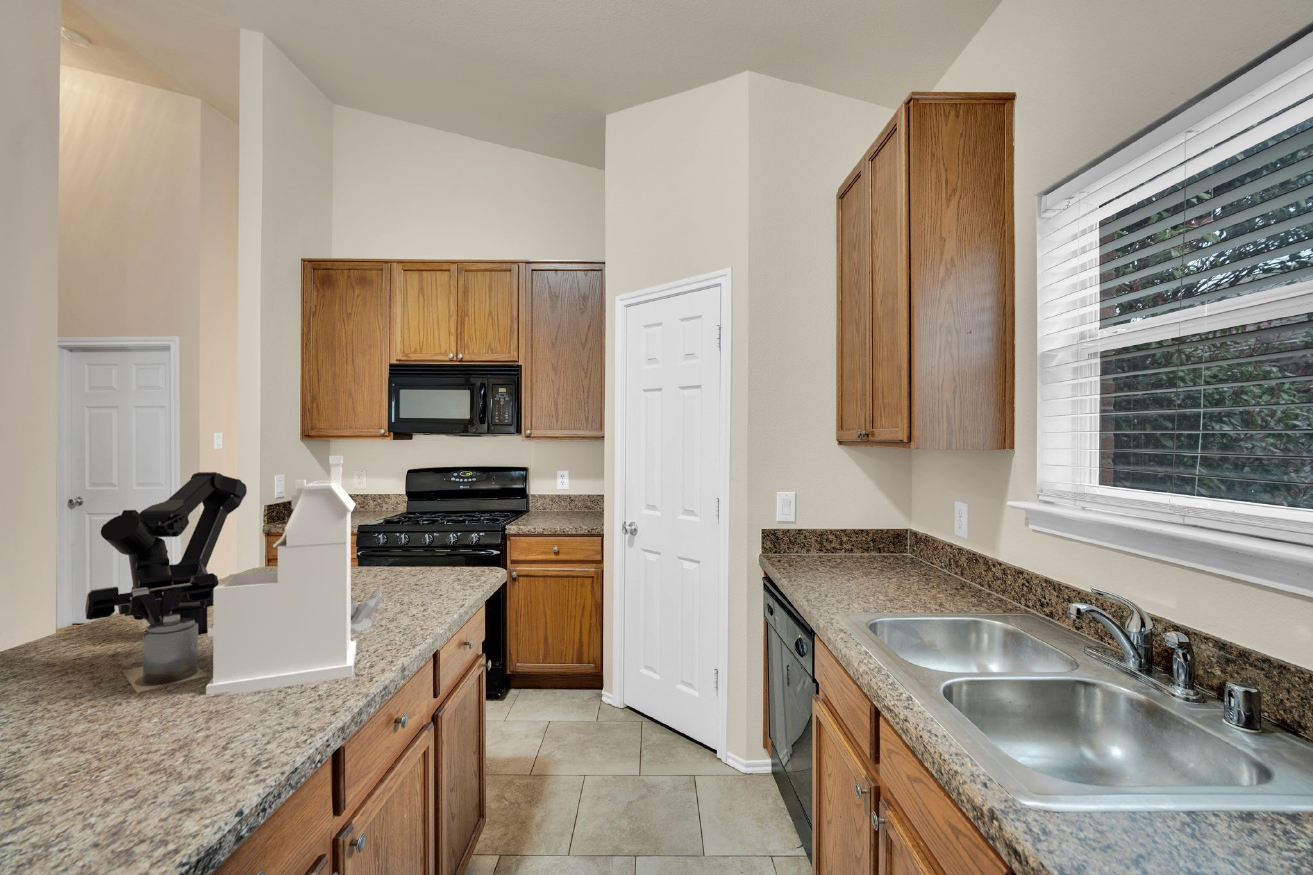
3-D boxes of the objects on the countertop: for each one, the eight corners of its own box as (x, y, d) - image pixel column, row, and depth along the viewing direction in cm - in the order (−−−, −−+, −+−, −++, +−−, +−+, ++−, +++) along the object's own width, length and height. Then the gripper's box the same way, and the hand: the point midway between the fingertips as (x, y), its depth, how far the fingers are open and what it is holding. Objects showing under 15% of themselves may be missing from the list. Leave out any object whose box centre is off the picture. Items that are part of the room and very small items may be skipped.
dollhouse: (356, 649, 121) (356, 454, 121) (352, 676, 107) (352, 456, 107) (228, 666, 112) (228, 456, 112) (206, 698, 98) (206, 457, 98)
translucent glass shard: (387, 626, 136) (387, 561, 136) (322, 637, 128) (322, 569, 128) (377, 616, 144) (377, 554, 144) (315, 626, 136) (315, 561, 136)
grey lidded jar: (191, 664, 111) (192, 607, 111) (202, 674, 106) (203, 615, 106) (138, 676, 105) (139, 616, 105) (147, 688, 100) (148, 624, 100)
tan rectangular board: (187, 659, 115) (187, 656, 115) (206, 678, 106) (206, 674, 106) (122, 674, 108) (122, 670, 108) (137, 696, 99) (137, 692, 99)
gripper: (201, 580, 126) (215, 643, 118) (79, 598, 111) (86, 671, 104) (211, 548, 121) (226, 612, 113) (85, 562, 106) (93, 636, 99)
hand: (161, 633), depth 108 cm, fingers closed
